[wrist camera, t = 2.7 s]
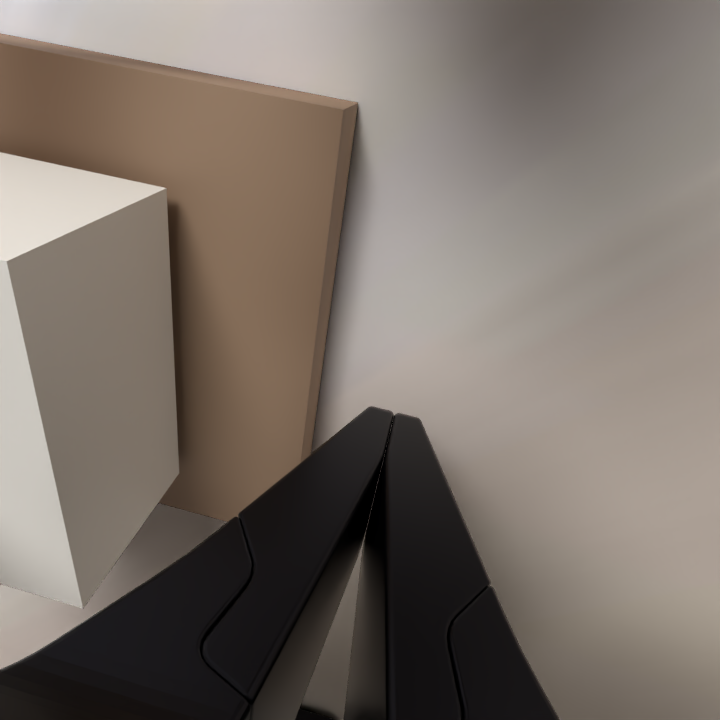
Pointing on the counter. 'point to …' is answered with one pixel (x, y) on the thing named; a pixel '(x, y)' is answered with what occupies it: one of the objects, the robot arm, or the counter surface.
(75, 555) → the gauge carriage
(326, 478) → the robot arm
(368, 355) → the counter surface
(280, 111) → the base
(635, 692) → the counter surface
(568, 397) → the counter surface
